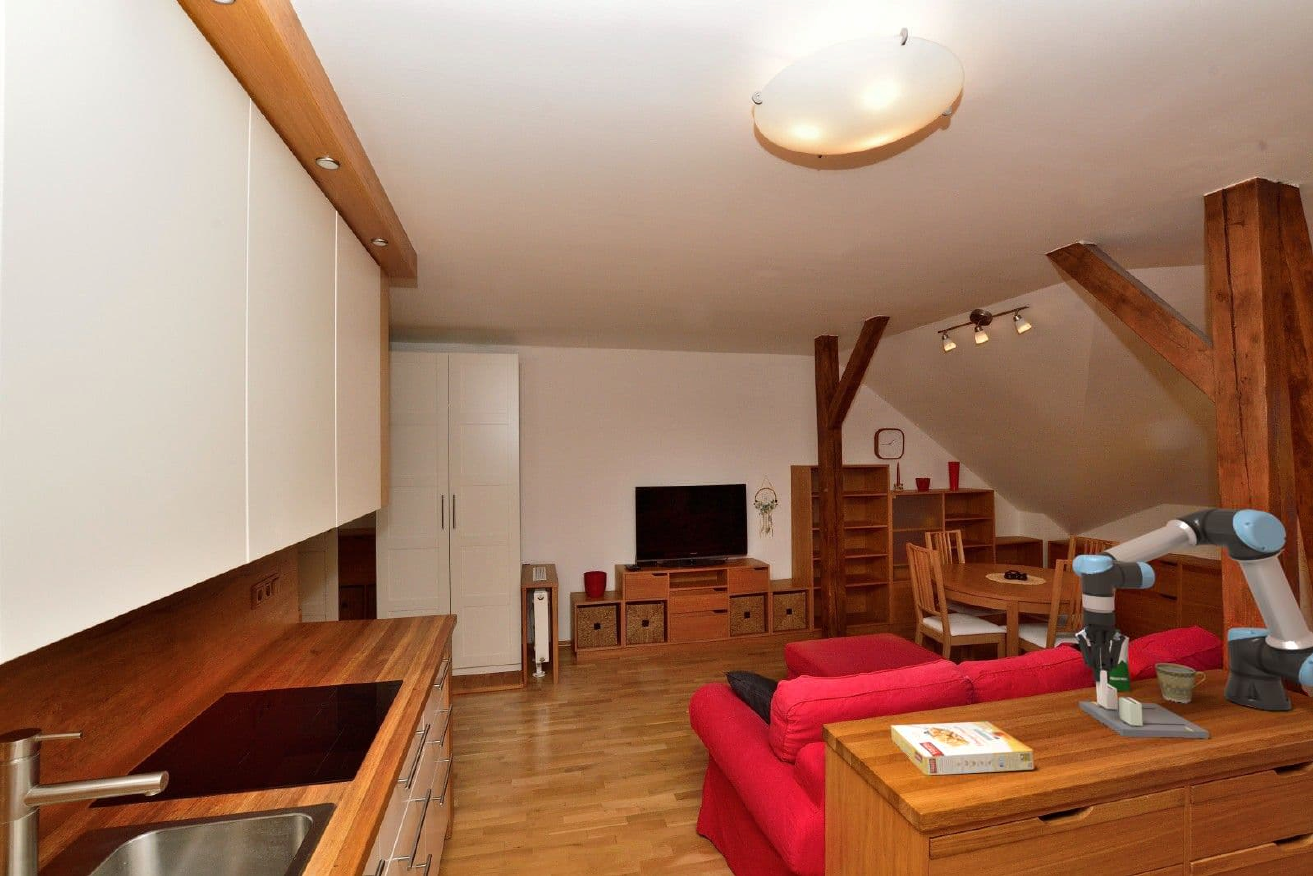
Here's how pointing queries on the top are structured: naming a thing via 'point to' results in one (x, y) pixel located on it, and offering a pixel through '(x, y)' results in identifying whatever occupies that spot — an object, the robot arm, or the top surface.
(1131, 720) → the fader
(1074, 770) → the top surface
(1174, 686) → the ceramic cup
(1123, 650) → the milk carton
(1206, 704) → the top surface
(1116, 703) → the block
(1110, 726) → the console
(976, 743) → the cereal box
